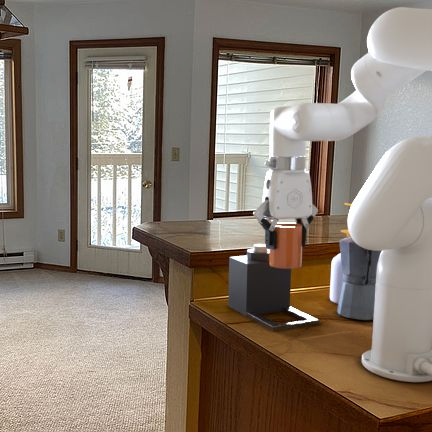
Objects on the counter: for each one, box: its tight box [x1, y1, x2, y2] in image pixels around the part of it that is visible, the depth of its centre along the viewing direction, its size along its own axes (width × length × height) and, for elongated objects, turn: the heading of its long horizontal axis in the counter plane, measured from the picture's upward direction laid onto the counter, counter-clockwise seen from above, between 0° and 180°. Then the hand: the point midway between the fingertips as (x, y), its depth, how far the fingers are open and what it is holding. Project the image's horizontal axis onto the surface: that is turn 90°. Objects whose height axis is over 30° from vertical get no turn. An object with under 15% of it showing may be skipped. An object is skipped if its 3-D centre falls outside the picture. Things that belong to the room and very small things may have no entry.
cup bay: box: [245, 306, 320, 332], centre depth 124 cm, size 10×12×1 cm
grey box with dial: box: [227, 248, 292, 317], centre depth 131 cm, size 8×12×14 cm, turn 112°
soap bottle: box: [329, 202, 353, 305], centre depth 136 cm, size 9×9×25 cm
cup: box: [268, 222, 303, 270], centre depth 121 cm, size 7×7×9 cm
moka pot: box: [336, 237, 382, 321], centre depth 125 cm, size 10×15×20 cm, turn 174°
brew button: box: [253, 243, 269, 253], centre depth 130 cm, size 3×3×2 cm
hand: (285, 246), depth 121 cm, fingers closed on cup, 6 cm apart
